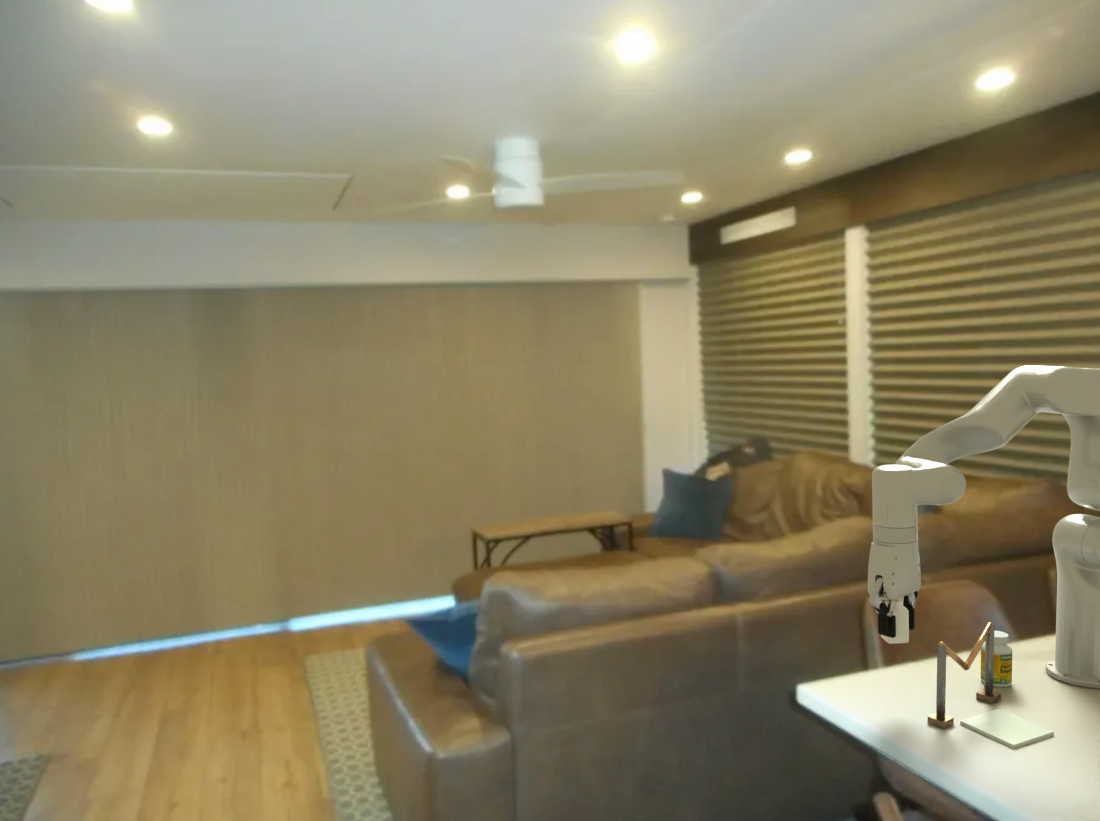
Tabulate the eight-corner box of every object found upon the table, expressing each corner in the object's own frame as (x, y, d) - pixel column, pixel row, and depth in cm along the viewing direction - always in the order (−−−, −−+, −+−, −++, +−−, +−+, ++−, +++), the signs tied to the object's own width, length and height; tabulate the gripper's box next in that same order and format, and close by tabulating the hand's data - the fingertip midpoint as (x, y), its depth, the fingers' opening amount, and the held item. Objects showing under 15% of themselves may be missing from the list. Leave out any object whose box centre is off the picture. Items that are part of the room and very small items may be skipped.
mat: (999, 712, 151) (999, 708, 151) (1053, 735, 142) (1054, 731, 142) (960, 723, 146) (960, 720, 146) (1013, 748, 137) (1013, 744, 137)
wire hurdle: (984, 694, 158) (986, 618, 157) (1000, 700, 156) (1002, 622, 154) (927, 723, 147) (928, 641, 146) (944, 729, 145) (945, 646, 143)
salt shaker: (910, 644, 154) (909, 592, 153) (888, 645, 154) (887, 593, 153) (901, 636, 158) (900, 586, 157) (879, 637, 158) (878, 587, 157)
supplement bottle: (989, 674, 167) (991, 627, 166) (1017, 683, 163) (1018, 634, 162) (974, 681, 164) (975, 632, 163) (1002, 690, 160) (1003, 640, 159)
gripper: (903, 522, 161) (904, 616, 163) (848, 538, 152) (850, 637, 153) (940, 528, 155) (941, 625, 157) (886, 546, 145) (887, 649, 147)
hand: (896, 630), depth 155 cm, fingers closed on salt shaker, 5 cm apart
